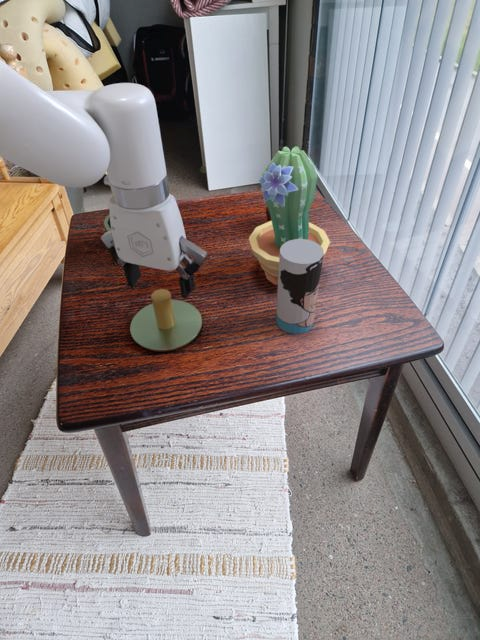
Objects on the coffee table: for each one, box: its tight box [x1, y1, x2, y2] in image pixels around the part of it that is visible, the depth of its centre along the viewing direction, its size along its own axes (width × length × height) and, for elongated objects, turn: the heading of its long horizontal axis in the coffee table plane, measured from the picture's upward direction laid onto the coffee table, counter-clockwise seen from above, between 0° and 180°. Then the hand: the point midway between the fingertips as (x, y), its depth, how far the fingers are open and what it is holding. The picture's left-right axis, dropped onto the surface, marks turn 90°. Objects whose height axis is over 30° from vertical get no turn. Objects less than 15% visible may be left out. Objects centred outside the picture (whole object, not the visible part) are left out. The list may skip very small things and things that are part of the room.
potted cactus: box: [248, 145, 331, 286], centre depth 77 cm, size 15×15×25 cm
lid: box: [129, 288, 203, 353], centre depth 72 cm, size 13×13×8 cm
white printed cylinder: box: [275, 239, 324, 335], centre depth 70 cm, size 7×7×15 cm
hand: (161, 287), depth 68 cm, fingers open, 9 cm apart
